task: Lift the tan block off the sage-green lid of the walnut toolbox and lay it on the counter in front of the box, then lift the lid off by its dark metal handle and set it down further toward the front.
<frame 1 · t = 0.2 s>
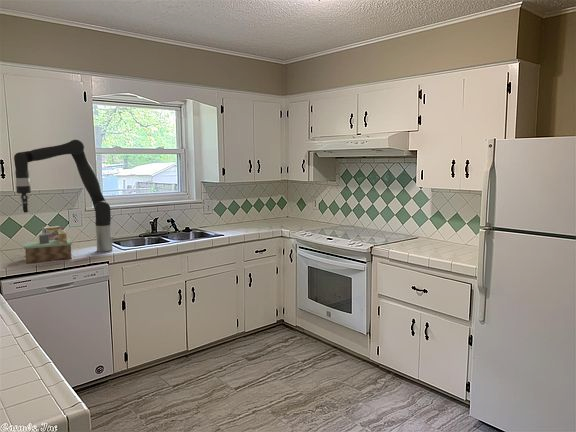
hand: (25, 211, 275), 29 cm above the counter, tool pointing down, fingers open, 8 cm apart
tan block: (62, 241, 278), point 10 cm above the counter, touching lid
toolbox: (49, 259, 275), on the counter
candy bar box: (53, 251, 298), on the counter
lid: (48, 244, 274), point 9 cm above the counter, touching tan block, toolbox
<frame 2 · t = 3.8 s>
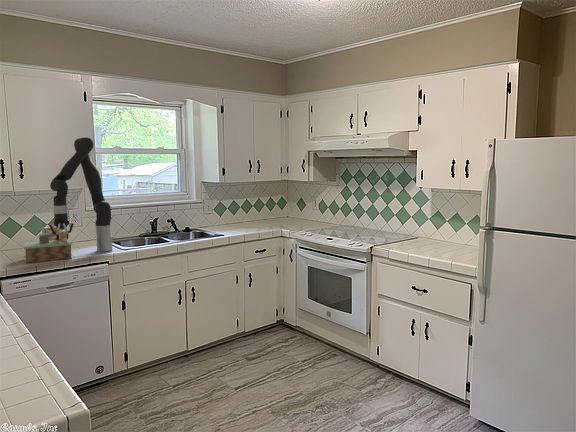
hand: (62, 239, 278), 11 cm above the counter, tool pointing down, fingers closed on tan block, 4 cm apart
tan block: (62, 241, 278), point 10 cm above the counter, touching gripper, lid
everything else where it was.
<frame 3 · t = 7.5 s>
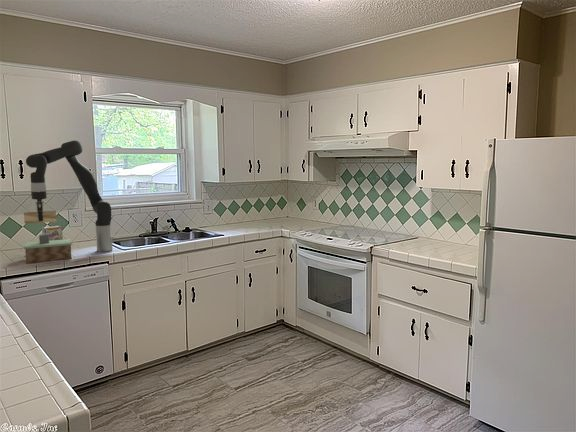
hand: (40, 220, 257), 26 cm above the counter, tool pointing down, fingers closed on tan block, 4 cm apart
tan block: (40, 222, 257), point 25 cm above the counter, touching gripper
lid: (48, 244, 274), point 9 cm above the counter, touching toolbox
everything else where it was.
when the fingers open (2 cm above the counter, at t = 11.4 s): tan block drops 2 cm, on the counter.
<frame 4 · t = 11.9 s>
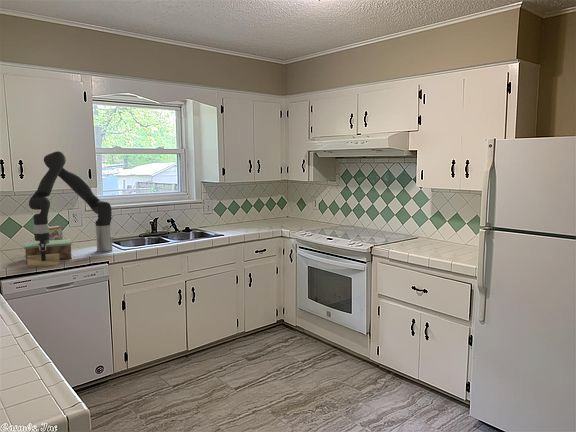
hand: (43, 259, 259), 3 cm above the counter, tool pointing down, fingers open, 8 cm apart
tan block: (43, 265, 260), on the counter
everything else where it was.
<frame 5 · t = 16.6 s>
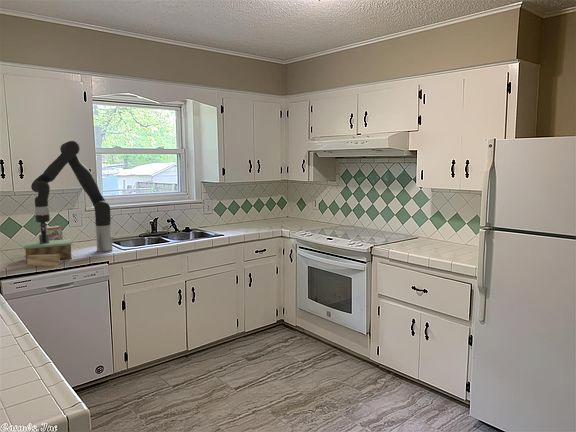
hand: (44, 241, 273), 11 cm above the counter, tool pointing down, fingers closed on lid, 2 cm apart
lid: (48, 244, 274), point 9 cm above the counter, touching gripper, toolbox
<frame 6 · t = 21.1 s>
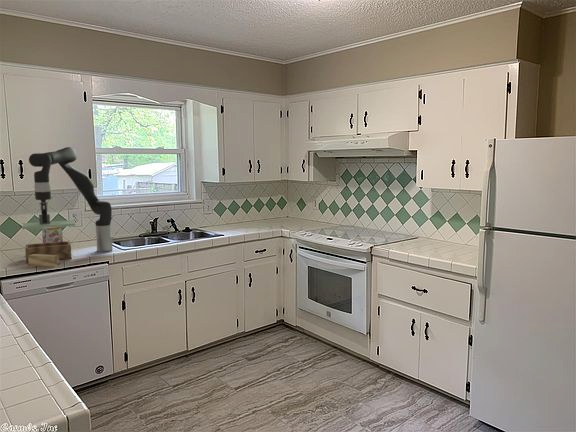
hand: (44, 222, 244), 27 cm above the counter, tool pointing down, fingers closed on lid, 2 cm apart
lid: (49, 225, 246), point 25 cm above the counter, touching gripper
when the fingers open (3 cm above the counter, at t = 25.8 s): lid drops 2 cm, on the counter.
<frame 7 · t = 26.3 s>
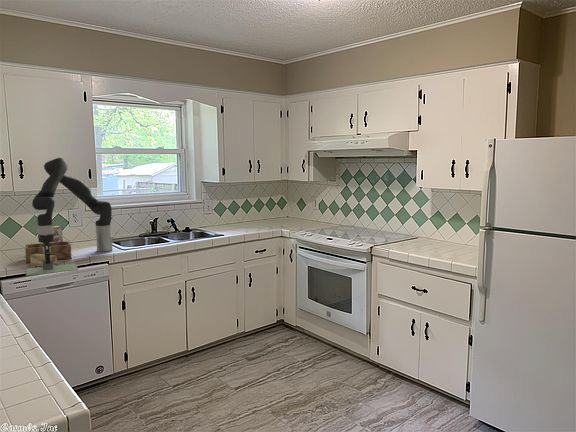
hand: (47, 262, 247), 5 cm above the counter, tool pointing down, fingers open, 8 cm apart
lid: (52, 271, 249), on the counter
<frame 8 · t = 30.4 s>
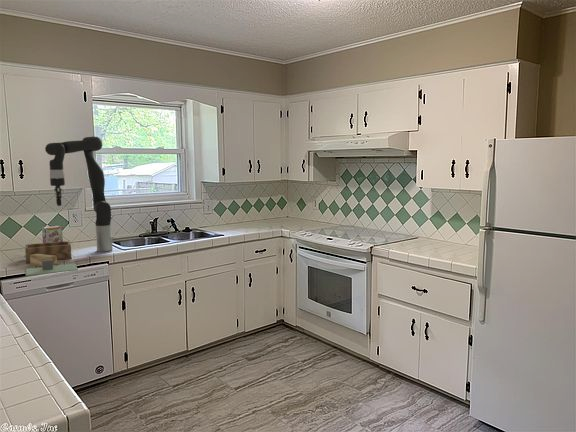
hand: (59, 204, 265), 34 cm above the counter, tool pointing down, fingers open, 8 cm apart
nothing on the counter moved.
at the end: lid inside the target area (1.7 cm from its centre), on the counter; lid touching counter; tan block inside the target area (0.1 cm from its centre), on the counter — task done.
